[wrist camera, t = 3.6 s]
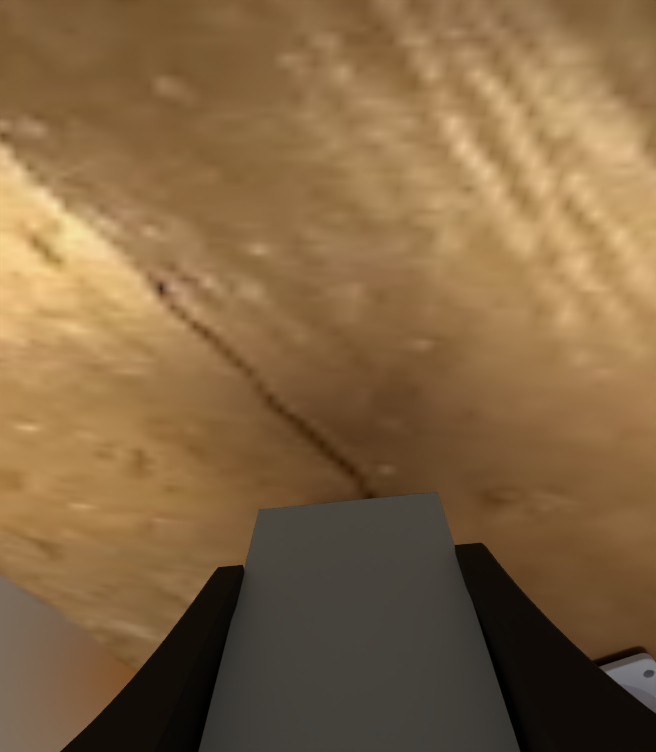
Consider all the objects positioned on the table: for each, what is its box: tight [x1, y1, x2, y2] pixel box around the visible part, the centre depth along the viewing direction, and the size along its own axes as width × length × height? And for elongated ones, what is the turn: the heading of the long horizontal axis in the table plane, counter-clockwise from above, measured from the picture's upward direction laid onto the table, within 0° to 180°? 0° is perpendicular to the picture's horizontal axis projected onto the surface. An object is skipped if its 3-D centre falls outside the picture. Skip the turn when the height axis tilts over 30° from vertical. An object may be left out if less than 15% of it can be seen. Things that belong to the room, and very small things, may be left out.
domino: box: [199, 492, 520, 752], centre depth 10 cm, size 2×5×8 cm, turn 98°
